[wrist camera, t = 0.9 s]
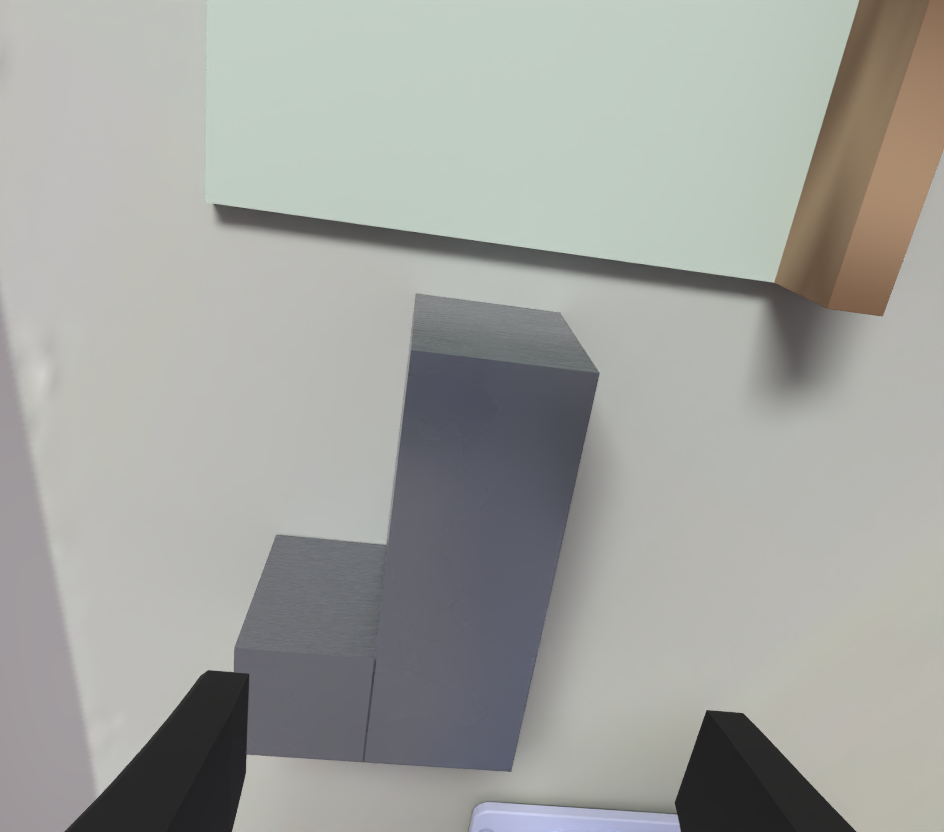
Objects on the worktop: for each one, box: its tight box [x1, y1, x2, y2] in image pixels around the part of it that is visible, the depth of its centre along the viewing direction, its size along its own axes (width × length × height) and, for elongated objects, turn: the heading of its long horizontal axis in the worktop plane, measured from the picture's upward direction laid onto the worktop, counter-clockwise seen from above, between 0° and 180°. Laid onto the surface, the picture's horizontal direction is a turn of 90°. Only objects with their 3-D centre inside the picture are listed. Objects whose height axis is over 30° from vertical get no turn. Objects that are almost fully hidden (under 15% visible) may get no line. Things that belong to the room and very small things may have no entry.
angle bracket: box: [234, 294, 599, 772], centre depth 17 cm, size 10×6×4 cm, turn 172°
